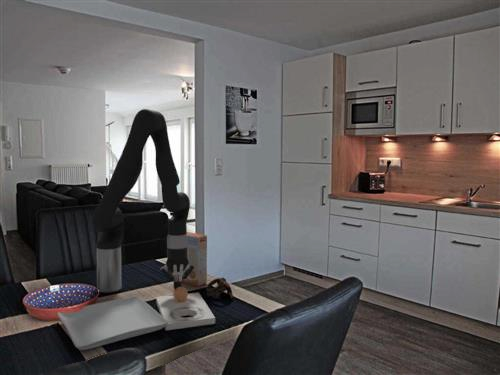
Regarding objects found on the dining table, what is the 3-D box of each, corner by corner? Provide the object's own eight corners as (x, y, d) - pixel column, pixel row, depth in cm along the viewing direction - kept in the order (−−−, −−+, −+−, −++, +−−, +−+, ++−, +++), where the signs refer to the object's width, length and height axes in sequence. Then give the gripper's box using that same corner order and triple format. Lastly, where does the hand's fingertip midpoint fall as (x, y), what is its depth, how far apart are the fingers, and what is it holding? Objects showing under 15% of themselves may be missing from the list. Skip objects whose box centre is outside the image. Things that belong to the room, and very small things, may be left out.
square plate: (56, 322, 130) (56, 311, 130) (138, 304, 146) (138, 294, 146) (76, 358, 108) (76, 345, 108) (170, 332, 124) (170, 320, 124)
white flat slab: (165, 330, 125) (165, 324, 125) (156, 302, 148) (156, 297, 147) (215, 323, 131) (215, 317, 130) (198, 297, 153) (198, 292, 153)
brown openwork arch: (233, 303, 150) (223, 286, 147) (211, 311, 152) (201, 295, 149) (236, 284, 161) (227, 268, 159) (216, 293, 163) (206, 277, 161)
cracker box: (207, 283, 169) (207, 234, 167) (197, 287, 165) (198, 237, 163) (183, 276, 178) (183, 230, 176) (173, 280, 173) (173, 232, 171)
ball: (175, 303, 141) (175, 290, 141) (172, 298, 146) (172, 285, 146) (188, 302, 143) (189, 288, 143) (186, 297, 148) (186, 284, 147)
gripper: (192, 242, 156) (192, 285, 157) (158, 244, 151) (158, 289, 153) (196, 246, 149) (196, 291, 150) (160, 249, 144) (161, 295, 146)
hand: (177, 290), depth 152 cm, fingers closed
